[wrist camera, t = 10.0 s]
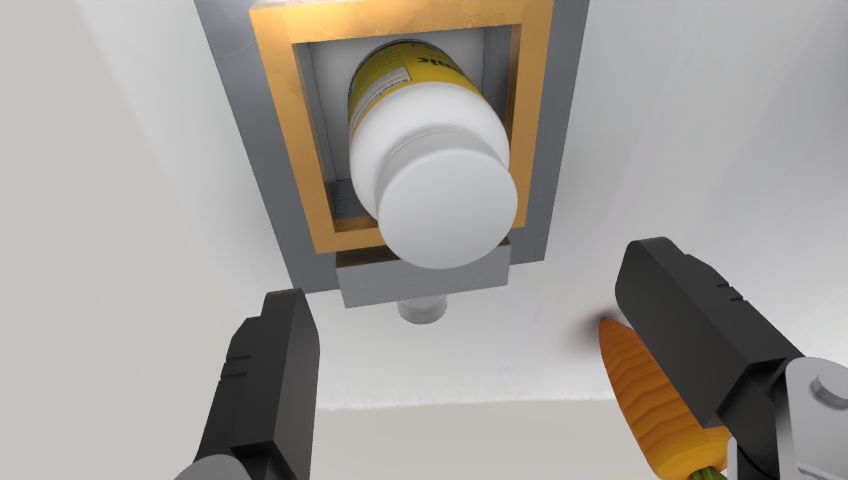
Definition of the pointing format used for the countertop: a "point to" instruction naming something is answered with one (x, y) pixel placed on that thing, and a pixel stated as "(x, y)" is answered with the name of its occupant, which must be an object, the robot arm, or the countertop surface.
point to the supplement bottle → (428, 156)
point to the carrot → (659, 411)
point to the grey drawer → (337, 200)
